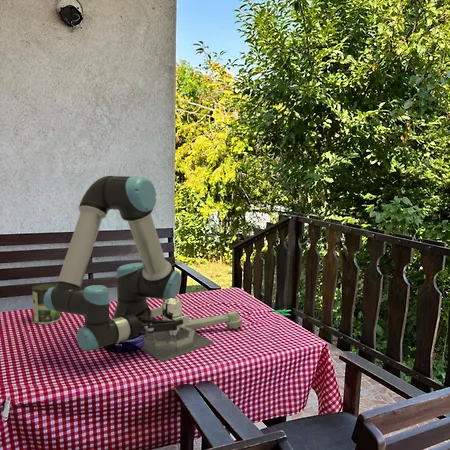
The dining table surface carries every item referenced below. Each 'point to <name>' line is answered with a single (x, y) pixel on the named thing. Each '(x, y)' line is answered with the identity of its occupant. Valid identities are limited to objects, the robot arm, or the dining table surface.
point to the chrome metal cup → (172, 317)
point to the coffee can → (40, 311)
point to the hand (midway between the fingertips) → (176, 313)
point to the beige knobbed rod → (216, 321)
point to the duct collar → (173, 344)
